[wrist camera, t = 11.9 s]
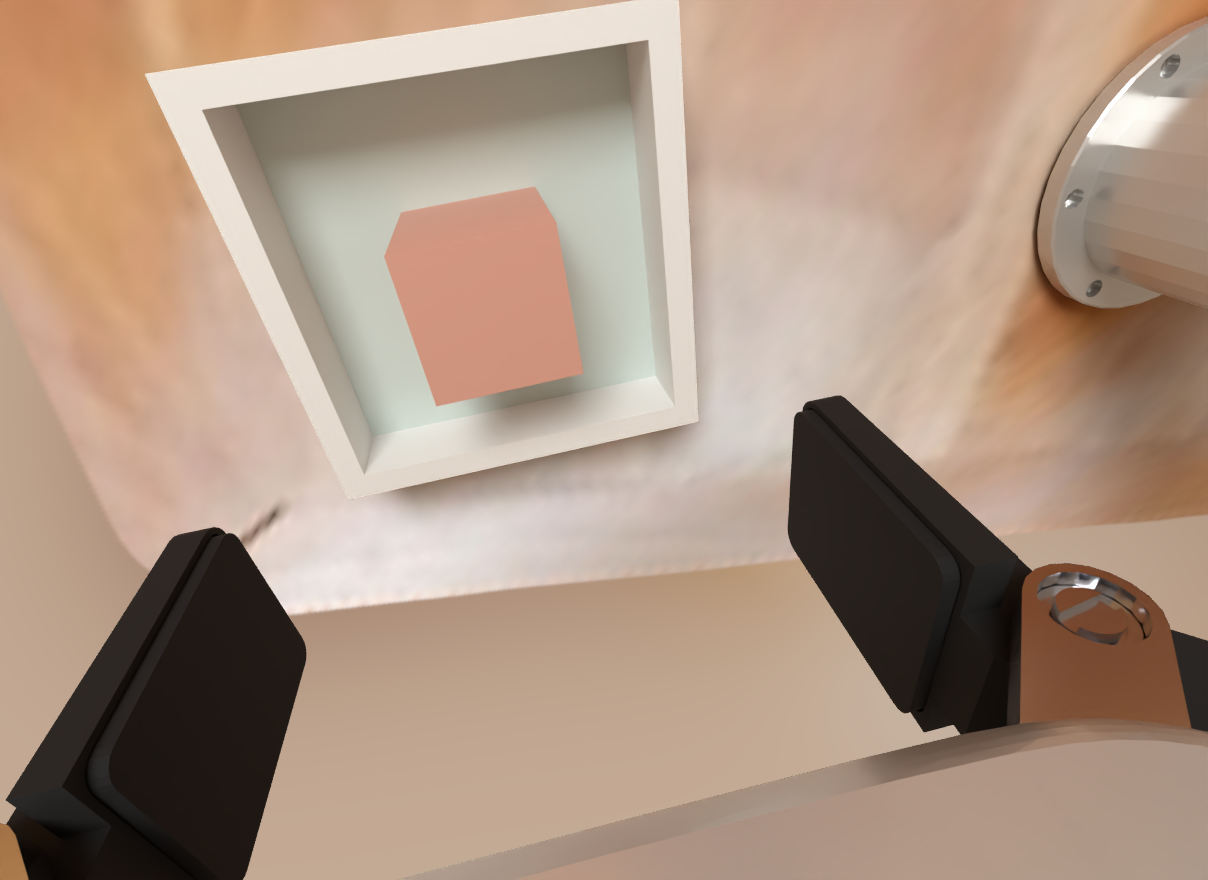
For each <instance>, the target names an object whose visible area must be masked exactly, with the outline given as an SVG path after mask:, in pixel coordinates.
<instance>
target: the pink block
mask: <svg viewBox="0 0 1208 880" xmlns="http://www.w3.org/2000/svg"><path fill="white" fill-rule="evenodd" d="M384 258H385V261H386V264H387V267H388V269H389V272H390V275H391V278H392V281H393V284H394V287H395V289H396V292H397V295H398V298H399V301H400V304H401V307H402V310H403V312H404V315H405V318H406V321H407V324H408V327H409V330H410V332H411V335H412V338H413V341H414V344H415V347H416V350H417V352H418V355H419V358H420V361H421V364H422V367H423V370H424V373H425V375H426V378H427V381H428V384H429V387H430V390H431V393H432V395H433V398H434V401H435V404H436V407H437V406H441V405H446V404H450V403H455V402H459V401H464V400H468V399H472V398H477V397H481V396H486V395H490V394H495V393H499V392H504V391H508V390H513V389H517V388H522V387H526V386H531V385H535V384H540V383H544V382H549V381H553V380H558V379H562V378H567V377H571V376H576V375H580V374H584V373H583V368H582V362H581V357H580V351H579V345H578V340H577V334H576V329H575V323H574V318H573V312H572V307H571V301H570V296H569V290H568V285H567V279H566V274H565V268H564V262H563V257H562V251H561V246H560V240H559V235H558V229H557V224H556V221H555V219H554V218H553V216H552V214H551V213H550V211H549V209H548V208H547V206H546V204H545V203H544V201H543V199H542V198H541V196H540V194H539V193H538V191H537V189H536V188H535V186H534V187H529V188H524V189H519V190H513V191H508V192H503V193H498V194H493V195H487V196H482V197H477V198H472V199H467V200H461V201H456V202H451V203H446V204H441V205H435V206H430V207H425V208H420V209H415V210H409V211H404V212H401V214H400V217H399V219H398V222H397V224H396V227H395V230H394V232H393V235H392V237H391V240H390V243H389V245H388V248H387V250H386V253H385V256H384Z"/></svg>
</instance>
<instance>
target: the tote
mask: <svg viewBox="0 0 1208 880" xmlns="http://www.w3.org/2000/svg"><path fill="white" fill-rule="evenodd" d="M145 76H146V78H147V80H148V82H149V84H150V86H151V88H152V90H153V92H154V94H155V96H156V99H157V101H158V103H159V105H160V107H161V109H162V111H163V113H164V115H165V117H166V120H167V122H168V124H169V126H170V128H171V130H172V132H173V134H174V136H175V138H176V140H177V143H178V145H179V147H180V149H181V151H182V153H183V155H184V157H185V159H186V161H187V163H188V166H189V168H190V170H191V172H192V174H193V176H194V178H195V180H196V182H197V184H198V186H199V189H200V191H201V193H202V195H203V197H204V199H205V201H206V203H207V205H208V207H209V210H210V212H211V214H212V216H213V218H214V220H215V222H216V224H217V226H218V228H219V230H220V233H221V235H222V237H223V239H224V241H225V243H226V245H227V247H228V249H229V251H230V253H231V256H232V258H233V260H234V262H235V264H236V266H237V268H238V270H239V272H240V274H241V276H242V279H243V281H244V283H245V285H246V287H247V289H248V291H249V293H250V295H251V297H252V300H253V302H254V304H255V306H256V308H257V310H258V312H259V314H260V316H261V318H262V320H263V323H264V325H265V327H266V329H267V331H268V333H269V335H270V337H271V339H272V341H273V343H274V346H275V348H276V350H277V352H278V354H279V356H280V358H281V360H282V362H283V364H284V366H285V369H286V371H287V373H288V375H289V377H290V379H291V381H292V383H293V385H294V387H295V389H296V392H297V394H298V396H299V398H300V400H301V402H302V404H303V406H304V408H305V410H306V413H307V415H308V417H309V419H310V421H311V423H312V425H313V427H314V429H315V431H316V433H317V436H318V438H319V440H320V442H321V444H322V446H323V448H324V450H325V452H326V454H327V456H328V459H329V461H330V463H331V465H332V467H333V469H334V471H335V473H336V475H337V477H338V479H339V482H340V484H341V486H342V488H343V490H344V492H345V494H346V496H347V498H348V500H351V499H355V498H360V497H364V496H369V495H373V494H378V493H382V492H387V491H391V490H396V489H400V488H404V487H409V486H413V485H418V484H422V483H427V482H431V481H436V480H440V479H445V478H449V477H454V476H458V475H463V474H467V473H472V472H476V471H481V470H485V469H490V468H494V467H498V466H503V465H507V464H512V463H516V462H521V461H525V460H530V459H534V458H539V457H543V456H548V455H552V454H557V453H561V452H566V451H570V450H575V449H579V448H584V447H588V446H592V445H597V444H601V443H606V442H610V441H615V440H619V439H624V438H628V437H633V436H637V435H642V434H646V433H651V432H655V431H660V430H664V429H669V428H673V427H678V426H682V425H686V424H691V423H695V422H699V421H698V399H697V378H696V357H695V336H694V314H693V293H692V272H691V251H690V230H689V208H688V187H687V166H686V145H685V123H684V102H683V81H682V60H681V39H680V17H679V0H635V1H628V2H621V3H615V4H608V5H601V6H595V7H588V8H581V9H575V10H568V11H561V12H555V13H548V14H541V15H535V16H528V17H521V18H515V19H508V20H501V21H495V22H488V23H481V24H475V25H468V26H461V27H455V28H448V29H441V30H435V31H428V32H421V33H415V34H408V35H401V36H395V37H388V38H381V39H375V40H368V41H361V42H355V43H348V44H341V45H334V46H328V47H321V48H314V49H308V50H301V51H294V52H288V53H281V54H274V55H268V56H261V57H254V58H248V59H241V60H234V61H228V62H221V63H214V64H208V65H201V66H194V67H188V68H181V69H174V70H168V71H161V72H154V73H148V74H145ZM534 186H535V188H536V189H537V191H538V193H539V194H540V196H541V198H542V199H543V201H544V203H545V204H546V206H547V208H548V209H549V211H550V213H551V214H552V216H553V218H554V219H555V221H556V224H557V229H558V235H559V240H560V246H561V251H562V257H563V262H564V268H565V274H566V279H567V285H568V290H569V296H570V301H571V307H572V312H573V318H574V323H575V329H576V334H577V340H578V345H579V351H580V357H581V362H582V368H583V373H584V374H580V375H576V376H571V377H567V378H562V379H558V380H553V381H549V382H544V383H540V384H535V385H531V386H526V387H522V388H517V389H513V390H508V391H504V392H499V393H495V394H490V395H486V396H481V397H477V398H472V399H468V400H464V401H459V402H455V403H450V404H446V405H441V406H437V407H436V404H435V401H434V398H433V395H432V393H431V390H430V387H429V384H428V381H427V378H426V375H425V373H424V370H423V367H422V364H421V361H420V358H419V355H418V352H417V350H416V347H415V344H414V341H413V338H412V335H411V332H410V330H409V327H408V324H407V321H406V318H405V315H404V312H403V310H402V307H401V304H400V301H399V298H398V295H397V292H396V289H395V287H394V284H393V281H392V278H391V275H390V272H389V269H388V267H387V264H386V261H385V258H384V256H385V253H386V250H387V248H388V245H389V243H390V240H391V237H392V235H393V232H394V230H395V227H396V224H397V222H398V219H399V217H400V214H401V212H404V211H409V210H415V209H420V208H425V207H430V206H435V205H441V204H446V203H451V202H456V201H461V200H467V199H472V198H477V197H482V196H487V195H493V194H498V193H503V192H508V191H513V190H519V189H524V188H529V187H534Z"/></svg>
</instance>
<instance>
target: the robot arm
mask: <svg viewBox="0 0 1208 880" xmlns="http://www.w3.org/2000/svg"><path fill="white" fill-rule="evenodd" d="M1037 235H1038V254H1039V257H1040V261H1041V265H1042V268H1043V271H1044V273H1045V275H1046V276H1047V278H1048V280H1049V281H1050V283H1051V285H1052V286H1053V287H1055V288H1056V289H1057V290H1058V291H1059V292H1060V293H1062V294H1063V295H1064V296H1066V297H1068V298H1071V299H1073V300H1076V301H1078V302H1080V303H1082V304H1085V305H1089V306H1093V307H1097V308H1123V307H1127V306H1132V305H1137V304H1141V303H1143V302H1146V301H1148V300H1151V299H1153V298H1156V297H1158V296H1161V295H1166V296H1169V297H1172V298H1175V299H1178V300H1181V301H1184V302H1187V303H1190V304H1193V305H1196V306H1199V307H1202V308H1205V309H1208V16H1207V17H1204V18H1202V19H1199V20H1197V21H1194V22H1192V23H1189V24H1187V25H1184V26H1182V27H1180V28H1179V29H1177V30H1175V31H1174V32H1172V33H1170V34H1169V35H1167V36H1165V37H1164V38H1162V39H1160V40H1159V41H1157V42H1156V43H1154V44H1153V45H1151V46H1150V47H1149V48H1148V49H1147V50H1145V51H1144V52H1143V53H1142V54H1140V55H1139V56H1138V57H1137V58H1135V59H1134V60H1133V61H1132V62H1131V63H1129V64H1128V65H1127V66H1126V67H1125V68H1124V69H1123V70H1122V71H1121V72H1120V73H1119V74H1118V75H1117V76H1116V77H1115V78H1114V79H1113V80H1112V81H1111V82H1110V84H1109V85H1108V86H1107V87H1106V88H1105V89H1104V90H1103V91H1102V92H1101V93H1100V95H1099V96H1098V97H1097V98H1096V100H1095V101H1094V102H1093V104H1092V105H1091V106H1090V108H1089V109H1088V110H1087V111H1086V113H1085V114H1084V115H1083V117H1082V118H1081V119H1080V121H1079V122H1078V124H1077V126H1076V127H1075V129H1074V131H1073V132H1072V134H1071V136H1070V137H1069V139H1068V141H1067V142H1066V144H1065V146H1064V147H1063V149H1062V151H1061V153H1060V155H1059V158H1058V160H1057V162H1056V164H1055V166H1054V169H1053V171H1052V173H1051V175H1050V177H1049V181H1048V184H1047V187H1046V190H1045V194H1044V197H1043V200H1042V203H1041V209H1040V216H1039V222H1038V229H1037ZM788 535H789V539H790V542H791V545H792V547H793V549H794V550H795V552H796V554H797V555H798V557H799V558H800V560H801V561H802V563H803V564H804V566H805V567H806V569H807V570H808V572H809V573H810V575H811V577H812V578H813V580H814V581H815V583H816V584H817V586H818V587H819V589H820V590H821V592H822V593H823V595H824V596H825V598H826V600H827V601H828V603H829V604H830V606H831V607H832V609H833V610H834V612H835V613H836V615H837V617H838V618H839V620H840V621H841V623H842V624H843V626H844V627H845V629H846V630H847V632H848V633H849V635H850V636H851V638H852V640H853V641H854V643H855V644H856V646H857V647H858V649H859V650H860V652H861V654H862V655H863V656H864V658H865V660H866V661H867V663H868V664H869V666H870V667H871V669H872V670H873V672H874V674H875V675H876V677H877V678H878V680H879V681H880V683H881V684H882V686H883V687H884V689H885V690H886V692H887V694H888V695H889V697H890V698H891V699H892V701H893V703H894V704H895V705H896V707H897V708H898V709H899V710H900V711H901V712H903V713H909V712H911V714H912V715H913V717H914V718H915V719H916V721H917V723H918V724H919V726H920V727H921V729H922V730H923V732H927V731H931V730H935V729H939V728H943V727H946V726H950V725H954V726H955V727H956V729H957V730H958V731H959V733H960V734H961V735H958V736H954V737H950V738H946V739H942V740H937V741H934V742H930V743H925V744H921V745H916V746H912V747H908V748H904V749H900V750H895V751H891V752H887V753H883V754H879V755H874V756H870V757H866V758H862V759H858V760H853V761H850V762H846V763H842V764H838V765H834V766H830V767H826V768H822V769H818V770H815V771H811V772H807V773H803V774H799V775H795V776H791V777H787V778H784V779H780V780H776V781H772V782H768V783H764V784H760V785H756V786H753V787H749V788H745V789H741V790H737V791H734V792H729V793H725V794H722V795H718V796H714V797H710V798H706V799H703V800H699V801H694V802H691V803H687V804H683V805H679V806H675V807H671V808H667V809H664V810H660V811H656V812H652V813H648V814H644V815H641V816H637V817H633V818H629V819H625V820H622V821H618V822H614V823H611V824H606V825H603V826H599V827H595V828H591V829H587V830H584V831H580V832H576V833H572V834H568V835H565V836H561V837H557V838H553V839H549V840H546V841H542V842H538V843H534V844H531V845H527V846H523V847H519V848H515V849H512V850H508V851H504V852H500V853H496V854H493V855H489V856H485V857H481V858H477V859H474V860H470V861H466V862H462V863H459V864H455V865H451V866H448V867H443V868H440V869H436V870H432V871H428V872H425V873H421V874H417V875H413V876H410V877H406V878H403V879H398V880H1208V641H1207V640H1203V639H1200V638H1197V637H1194V636H1190V635H1187V634H1184V633H1180V632H1177V631H1174V630H1171V629H1170V625H1169V623H1168V621H1167V619H1166V617H1165V614H1164V612H1163V611H1162V609H1161V608H1159V606H1158V605H1157V604H1156V603H1155V602H1154V601H1153V600H1152V598H1150V596H1148V595H1147V594H1146V593H1144V592H1143V591H1141V590H1140V589H1139V588H1137V587H1136V586H1134V585H1133V584H1132V583H1130V582H1128V581H1126V580H1124V579H1122V578H1119V577H1117V576H1115V575H1113V574H1111V573H1109V572H1106V571H1102V570H1099V569H1096V568H1093V567H1090V566H1083V565H1077V564H1070V563H1064V564H1049V565H1046V566H1043V567H1040V568H1037V569H1035V570H1034V571H1032V570H1031V569H1030V568H1028V567H1027V566H1026V565H1025V564H1024V563H1023V562H1022V561H1021V560H1020V559H1019V558H1018V556H1017V555H1016V554H1015V553H1013V552H1012V551H1011V550H1010V549H1009V548H1008V547H1007V546H1006V545H1005V544H1004V543H1003V542H1001V541H1000V540H999V539H998V538H997V537H996V536H995V535H994V534H993V533H992V532H991V531H989V530H988V529H987V528H986V527H985V526H984V525H983V524H982V523H981V522H980V521H979V520H977V519H976V518H975V517H974V516H973V515H972V514H971V513H970V512H969V511H968V510H967V509H965V508H964V507H963V506H962V505H961V504H960V503H959V502H958V501H957V500H956V499H955V498H953V497H952V496H951V495H950V494H949V493H948V492H947V491H946V490H945V489H944V488H943V487H941V486H940V485H939V484H938V483H937V482H936V481H935V480H934V479H933V478H932V477H931V476H929V475H928V474H927V473H926V472H925V471H924V470H923V469H922V468H921V467H920V466H919V465H917V464H916V463H915V462H914V461H913V460H912V459H911V458H910V457H909V456H908V455H907V454H905V453H904V452H903V451H902V450H901V449H900V448H899V447H898V446H897V445H896V444H895V443H893V442H892V441H891V440H890V439H889V438H888V437H887V436H886V435H885V434H884V433H883V432H881V431H880V430H879V429H878V428H877V427H876V426H875V425H874V424H873V423H872V422H871V421H869V420H868V419H867V418H866V417H865V416H864V415H863V414H862V413H861V412H860V411H859V410H857V409H856V408H855V407H854V406H853V405H852V404H851V403H850V402H849V401H848V400H847V399H845V398H844V397H842V396H833V397H828V398H823V399H818V400H814V401H809V402H807V403H806V404H805V405H804V407H803V411H802V412H798V413H797V414H796V415H795V418H794V429H793V446H792V464H791V481H790V498H789V515H788ZM305 662H306V646H305V643H304V641H303V638H302V637H301V635H300V634H299V632H298V631H297V629H296V627H295V626H294V624H293V623H292V621H291V620H290V618H289V616H288V615H287V613H286V612H285V610H284V609H283V607H282V606H281V604H280V602H279V601H278V599H277V598H276V596H275V595H274V593H273V591H272V590H271V588H270V587H269V585H268V584H267V582H266V581H265V579H264V577H263V576H262V574H261V573H260V571H259V570H258V568H257V566H256V565H255V563H254V562H253V560H252V559H251V557H250V556H249V554H248V552H247V551H246V549H245V548H244V546H243V545H242V543H241V541H240V540H239V539H238V537H237V536H236V535H234V534H231V533H228V534H226V533H225V532H224V531H223V530H221V529H220V528H216V527H213V528H208V529H203V530H198V531H194V532H189V533H184V534H179V535H177V536H174V537H173V538H172V539H171V540H170V541H169V543H168V544H167V546H166V548H165V549H164V551H163V552H162V554H161V555H160V557H159V559H158V560H157V562H156V563H155V565H154V567H153V568H152V570H151V571H150V573H149V574H148V576H147V578H146V579H145V581H144V582H143V584H142V585H141V587H140V589H139V590H138V592H137V593H136V595H135V597H134V598H133V600H132V601H131V603H130V604H129V606H128V608H127V609H126V611H125V612H124V614H123V616H122V617H121V619H120V620H119V622H118V624H117V625H116V627H115V628H114V630H113V631H112V633H111V634H110V636H109V638H108V639H107V641H106V642H105V644H104V646H103V647H102V649H101V650H100V652H99V653H98V655H97V657H96V658H95V660H94V661H93V663H92V664H91V666H90V668H89V669H88V671H87V672H86V674H85V675H84V677H83V679H82V680H81V682H80V683H79V685H78V687H77V688H76V690H75V691H74V693H73V694H72V696H71V698H70V699H69V701H68V702H67V704H66V705H65V707H64V709H63V710H62V712H61V713H60V715H59V717H58V718H57V720H56V721H55V723H54V724H53V726H52V728H51V729H50V731H49V732H48V734H47V735H46V737H45V739H44V740H43V742H42V743H41V745H40V747H39V748H38V750H37V751H36V753H35V754H34V756H33V758H32V759H31V761H30V762H29V764H28V765H27V767H26V769H25V771H24V772H23V773H22V775H21V776H20V778H19V780H18V781H17V783H16V784H15V786H14V788H13V789H12V791H11V792H10V794H9V796H8V797H7V799H6V801H8V802H9V803H10V804H12V805H13V806H15V807H16V809H15V811H14V813H13V814H12V816H11V818H10V819H9V821H8V822H7V824H1V823H0V880H243V878H244V877H245V874H246V872H247V869H248V865H249V862H250V858H251V855H252V851H253V848H254V844H255V841H256V837H257V833H258V830H259V826H260V823H261V819H262V816H263V812H264V808H265V805H266V801H267V798H268V794H269V791H270V787H271V783H272V780H273V776H274V773H275V769H276V766H277V762H278V759H279V755H280V751H281V748H282V744H283V741H284V737H285V734H286V730H287V726H288V723H289V719H290V716H291V712H292V709H293V705H294V702H295V698H296V695H297V691H298V687H299V684H300V680H301V677H302V673H303V669H304V666H305Z"/></svg>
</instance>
